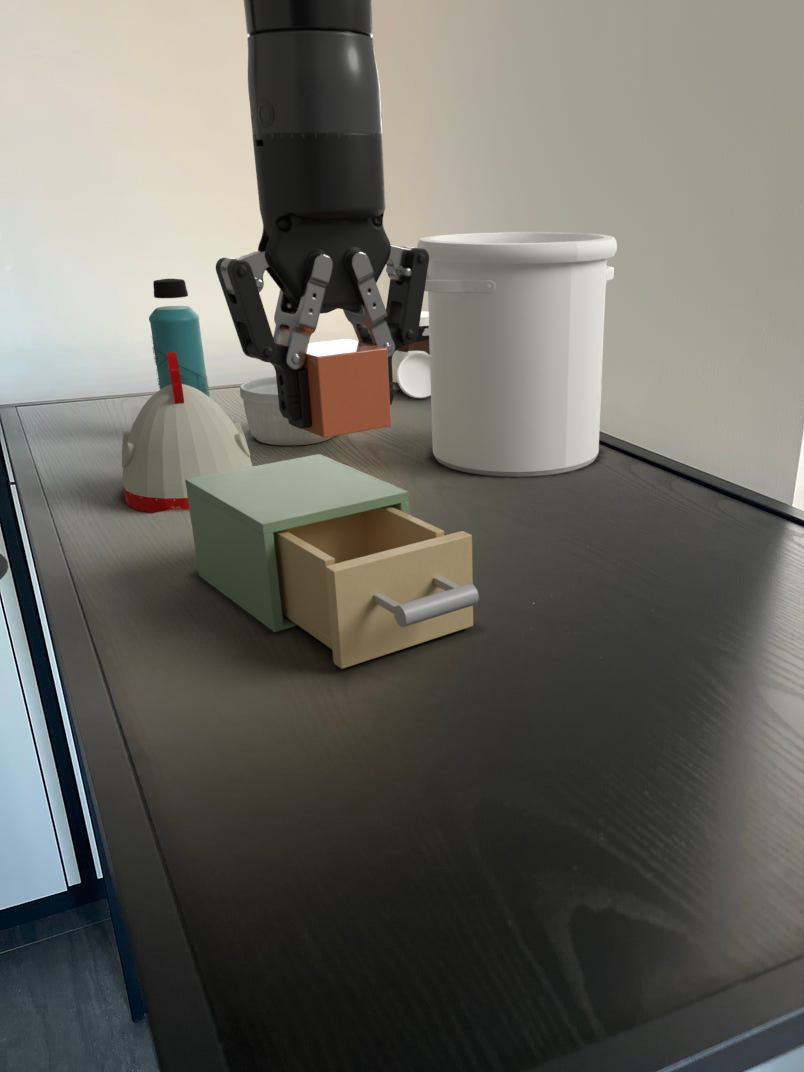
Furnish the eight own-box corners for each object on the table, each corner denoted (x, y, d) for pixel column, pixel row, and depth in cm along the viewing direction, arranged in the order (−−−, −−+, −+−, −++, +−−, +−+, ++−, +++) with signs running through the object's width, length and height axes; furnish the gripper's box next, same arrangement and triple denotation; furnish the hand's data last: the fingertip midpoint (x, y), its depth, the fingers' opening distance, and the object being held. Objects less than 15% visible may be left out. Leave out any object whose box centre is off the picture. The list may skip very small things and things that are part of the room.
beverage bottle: (209, 428, 135) (188, 275, 126) (221, 438, 129) (201, 279, 121) (161, 434, 132) (136, 277, 123) (172, 445, 127) (147, 282, 118)
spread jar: (431, 382, 162) (429, 309, 157) (472, 392, 154) (471, 316, 149) (370, 391, 156) (366, 315, 151) (410, 403, 148) (407, 323, 143)
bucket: (546, 426, 134) (550, 228, 123) (655, 462, 117) (671, 237, 106) (380, 453, 122) (368, 237, 111) (475, 498, 105) (472, 248, 94)
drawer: (509, 646, 70) (509, 551, 67) (374, 693, 64) (367, 591, 61) (379, 573, 83) (374, 491, 80) (256, 607, 77) (245, 519, 74)
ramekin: (351, 424, 136) (348, 373, 133) (337, 449, 124) (333, 394, 121) (257, 424, 136) (252, 374, 133) (234, 449, 124) (227, 394, 121)
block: (323, 438, 61) (317, 356, 59) (288, 423, 65) (280, 346, 62) (391, 426, 64) (387, 348, 61) (353, 413, 67) (348, 338, 65)
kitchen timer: (248, 471, 115) (233, 340, 108) (263, 505, 103) (247, 360, 97) (125, 483, 111) (102, 348, 105) (126, 519, 99) (99, 370, 93)
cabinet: (413, 597, 81) (408, 491, 77) (275, 638, 74) (262, 524, 70) (327, 549, 91) (319, 453, 87) (199, 580, 84) (184, 479, 80)
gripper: (388, 132, 63) (400, 396, 71) (174, 129, 56) (212, 425, 63) (455, 128, 58) (460, 414, 65) (227, 124, 50) (262, 449, 57)
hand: (338, 418), depth 64 cm, fingers closed on block, 5 cm apart
